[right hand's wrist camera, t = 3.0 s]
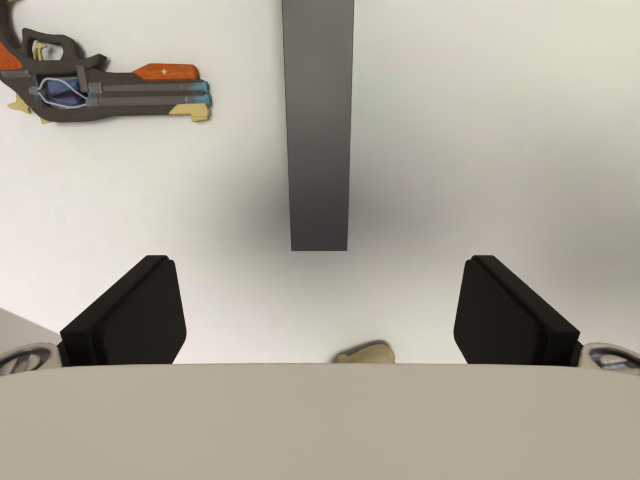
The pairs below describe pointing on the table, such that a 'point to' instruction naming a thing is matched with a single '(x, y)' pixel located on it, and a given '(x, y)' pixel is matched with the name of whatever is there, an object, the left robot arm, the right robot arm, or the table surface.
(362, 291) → the table surface
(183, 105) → the toy gun
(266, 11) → the table surface
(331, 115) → the beam
